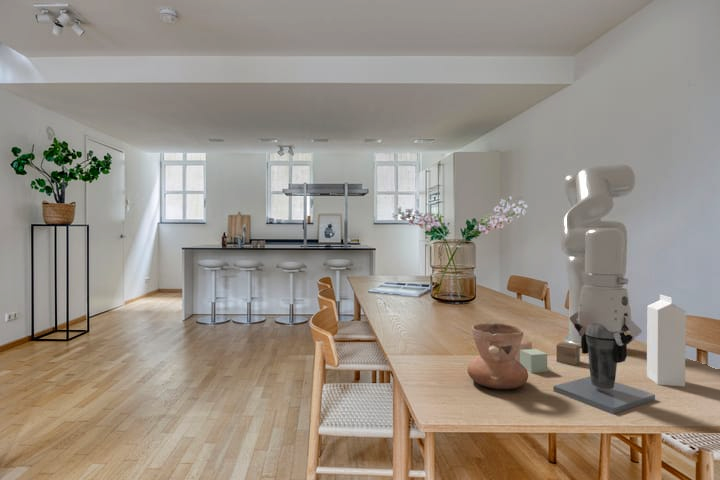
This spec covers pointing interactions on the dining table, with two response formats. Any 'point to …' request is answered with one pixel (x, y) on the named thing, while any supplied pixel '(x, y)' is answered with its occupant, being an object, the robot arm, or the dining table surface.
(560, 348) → the walnut block
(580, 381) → the slate board
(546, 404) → the dining table surface
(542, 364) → the sage block
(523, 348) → the peach rounded capsule
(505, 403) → the dining table surface
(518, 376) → the ceramic jug
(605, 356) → the beverage cup
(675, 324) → the milk
